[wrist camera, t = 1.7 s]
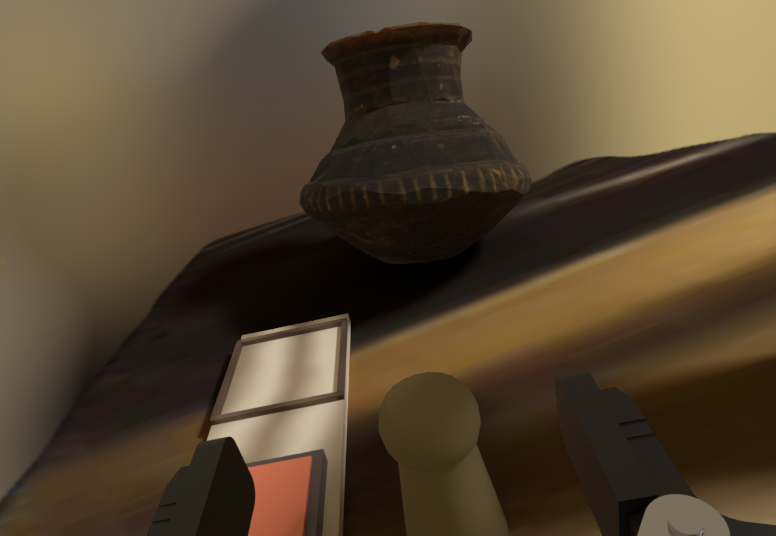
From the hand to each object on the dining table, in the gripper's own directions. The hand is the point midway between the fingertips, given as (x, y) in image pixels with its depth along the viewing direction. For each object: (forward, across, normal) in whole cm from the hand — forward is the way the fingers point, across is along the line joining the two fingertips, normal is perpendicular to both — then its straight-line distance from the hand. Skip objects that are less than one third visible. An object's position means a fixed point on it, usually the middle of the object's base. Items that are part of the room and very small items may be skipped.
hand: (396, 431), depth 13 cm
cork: (+11, 0, +20) cm, 23 cm away
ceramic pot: (+46, -2, +20) cm, 50 cm away
